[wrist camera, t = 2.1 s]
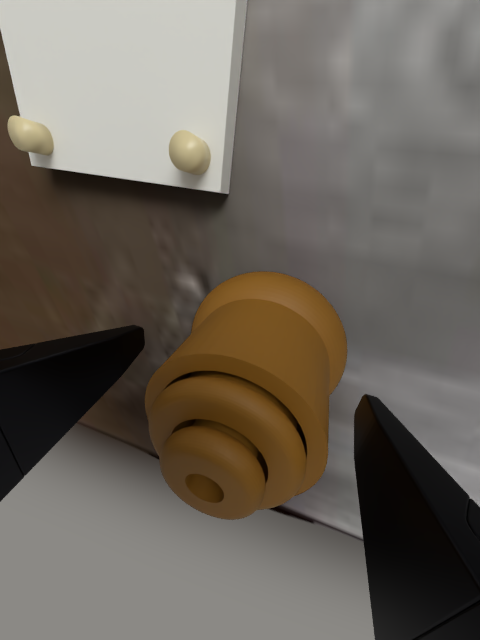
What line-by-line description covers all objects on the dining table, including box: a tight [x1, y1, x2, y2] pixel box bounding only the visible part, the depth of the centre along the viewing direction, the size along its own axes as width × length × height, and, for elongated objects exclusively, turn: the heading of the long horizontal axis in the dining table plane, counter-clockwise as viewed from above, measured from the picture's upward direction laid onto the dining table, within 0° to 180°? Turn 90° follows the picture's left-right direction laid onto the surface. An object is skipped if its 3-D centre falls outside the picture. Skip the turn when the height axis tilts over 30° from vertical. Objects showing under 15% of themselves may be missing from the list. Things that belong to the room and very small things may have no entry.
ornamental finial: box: [145, 272, 347, 520], centre depth 9 cm, size 8×8×8 cm
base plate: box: [0, 0, 248, 194], centre depth 8 cm, size 10×10×2 cm
